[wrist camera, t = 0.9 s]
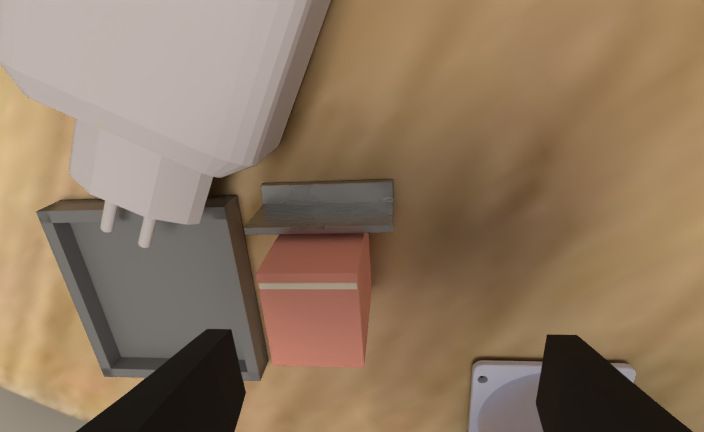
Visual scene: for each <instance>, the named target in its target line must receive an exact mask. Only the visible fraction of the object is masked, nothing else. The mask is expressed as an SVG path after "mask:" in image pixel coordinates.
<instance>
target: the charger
mask: <svg viewBox="0 0 704 432" xmlns="http://www.w3.org/2000/svg"><path fill="white" fill-rule="evenodd" d="M330 2H331V0H0V64H1V66H2V67H3V68H4V69H5V71H6V72H7V73H8V74H9V76H10V77H11V78H12V80H13V81H14V82H15V83H16V85H17V86H18V87H19V88H20V90H21V91H22V92H23V93H24V94H25V95H26V96H27V97H29V98H31V99H33V100H35V101H37V102H39V103H41V104H44V105H46V106H48V107H51V108H53V109H55V110H58V111H60V112H62V113H64V114H67V115H69V116H71V117H74V118H76V121H75V128H74V136H73V144H72V151H71V159H70V167H69V173H70V176H71V177H72V178H73V179H74V180H75V181H76V182H78V183H79V184H80V185H81V186H82V187H83V188H84V189H85V190H86V191H87V192H88V193H89V194H91V195H93V196H96V197H98V198H101V199H103V200H105V204H104V209H103V215H102V220H101V226H100V229H101V230H102V231H103V232H107V233H108V232H112V231H113V230H114V224H115V219H116V214H117V209H118V206H120V207H122V208H124V209H127V210H129V211H131V212H134V213H136V214H139V215H141V216H143V217H144V219H143V223H142V227H141V232H140V236H139V241H138V244H139V246H140V247H142V248H148V247H150V246H151V242H152V238H153V234H154V230H155V225H156V221H157V220H161V221H167V222H173V223H180V224H186V225H190V224H199V223H200V220H201V216H202V213H203V210H204V206H205V203H206V199H207V196H208V193H209V189H210V186H211V183H212V179H213V177H219V178H221V177H225V176H227V175H230V174H233V173H236V172H238V171H241V170H244V169H247V168H249V167H252V166H255V165H257V164H258V163H259V162H260V161H261V160H262V159H264V158H265V157H266V156H267V155H268V154H270V153H271V152H272V151H273V150H274V149H275V148H277V147H278V146H279V143H280V141H281V138H282V135H283V132H284V129H285V127H286V124H287V121H288V118H289V116H290V113H291V110H292V107H293V104H294V102H295V99H296V96H297V93H298V91H299V88H300V85H301V82H302V79H303V77H304V74H305V71H306V68H307V66H308V63H309V60H310V57H311V54H312V52H313V49H314V46H315V43H316V41H317V38H318V35H319V32H320V29H321V27H322V24H323V21H324V18H325V16H326V13H327V10H328V7H329V4H330Z"/></svg>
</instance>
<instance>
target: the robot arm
mask: <svg viewBox="0 0 704 432" xmlns="http://www.w3.org/2000/svg"><path fill="white" fill-rule="evenodd" d="M480 376H485V377H482V378H480ZM635 377H636V372H635V370H634V369H633V368H632V366H631V365H629V364H625V363H609V362H608V361H607V360H606V359H605V358H603V357H602V356H601V355H600V354H599V353H598V352H596V351H595V350H594V349H593V348H592V347H591V346H589V345H588V344H587V343H586V342H585V341H583V340H582V339H581V338H580V337H578V336H577V335H547V338H546V344H545V350H544V356H543V362H539V361H492V360H481V361H477V362H475V363H474V364H473V367H472V379H471V393H470V407H469V420H468V432H692V431H691V430H690V429H689V428H687V427H686V426H685V425H684V424H682V423H681V422H680V421H679V420H677V419H676V418H675V417H674V416H672V415H671V414H670V413H669V412H668V411H666V410H665V409H664V408H663V407H661V406H660V405H659V404H658V403H657V402H655V401H654V400H653V399H652V398H651V397H649V396H648V395H647V394H646V393H645V392H643V391H642V390H641V389H640V388H639V387H637V386H636V385H635V384H634V380H635ZM245 394H246V392H245V387H244V383H243V378H242V374H241V370H240V365H239V361H238V356H237V352H236V347H235V343H234V339H233V334H232V330H231V329H206V330H205V331H204V332H202V333H201V334H200V335H198V336H197V337H196V338H195V339H193V340H192V341H191V342H190V343H188V344H187V345H186V346H185V347H183V348H182V349H181V350H180V351H179V352H177V353H176V354H175V355H174V356H172V357H171V358H170V359H169V360H168V361H166V362H165V363H164V364H163V365H161V366H160V367H159V368H158V369H157V370H155V371H154V372H153V373H152V374H150V375H149V376H148V377H147V378H145V379H144V380H143V381H142V382H140V383H139V384H138V385H137V386H135V387H134V388H133V389H132V390H130V391H129V392H128V393H127V394H125V395H124V396H123V397H121V398H120V399H119V400H117V401H116V402H115V403H113V404H112V405H111V406H109V407H108V408H107V409H105V410H104V411H103V412H101V413H100V414H99V415H97V416H96V417H95V418H93V419H92V420H91V421H89V422H88V423H87V424H85V425H84V426H83V427H82V428H80V429H79V430H77V431H76V432H234V431H235V428H236V425H237V421H238V418H239V415H240V411H241V408H242V404H243V401H244V397H245Z"/></svg>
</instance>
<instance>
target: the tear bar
mask: <svg viewBox="0 0 704 432" xmlns="http://www.w3.org/2000/svg"><path fill="white" fill-rule="evenodd" d="M261 193H262V199H263V205H262V207H261V208H260V209H259V210H258V212H257V213H256V214H255V215H254V216H253V218H252V219H251V220H250V221H249V222H248V224H247V225H246V226H245V227H244V231H245V235H258V234H320V233H382V232H393V179H377V180H345V181H314V182H282V183H263V184H262V185H261Z"/></svg>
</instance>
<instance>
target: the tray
mask: <svg viewBox="0 0 704 432" xmlns="http://www.w3.org/2000/svg"><path fill="white" fill-rule="evenodd" d="M104 204H105V200H103V199H78V200H60V201H58V202H55V203H53V204H51V205H49V206H47V207H45V208H43V209H40V210H38V211H36V213H37V215H38V218H39V220H40V222H41V225H42V227H43V230H44V232H45V234H46V237H47V239H48V242H49V244H50V246H51V249H52V251H53V254H54V256H55V259H56V261H57V263H58V266H59V268H60V271H61V273H62V275H63V278H64V280H65V283H66V285H67V288H68V290H69V292H70V295H71V297H72V300H73V302H74V304H75V307H76V309H77V312H78V314H79V316H80V319H81V321H82V324H83V326H84V329H85V331H86V333H87V336H88V338H89V341H90V343H91V345H92V348H93V350H94V353H95V355H96V358H97V360H98V362H99V365H100V367H101V370H102V372H103V374H104V377H139V378H147V377H148V376H149V375H150V374H152V373H153V372H154V371H155V370H157V369H158V368H159V367H160V366H161V365H163V364H164V363H165V362H166V361H168V360H169V359H170V358H171V357H172V356H174V355H175V354H176V353H177V352H179V351H180V350H181V349H182V348H183V347H185V346H186V345H187V344H188V343H190V342H191V341H192V340H193V339H195V338H196V337H197V336H198V335H200V334H201V333H202V332H204V331H205V330H206V329H231V330H232V334H233V339H234V343H235V347H236V352H237V356H238V361H239V365H240V370H241V374H242V378H243V381H261V378H262V375H263V373H264V370H265V368H266V365H267V363H268V356H267V351H266V346H265V341H264V335H263V330H262V325H261V320H260V315H259V310H258V304H257V299H256V294H255V289H254V284H253V278H252V273H251V268H250V263H249V258H248V253H247V247H246V242H245V237H244V232H243V227H242V221H241V216H240V211H239V206H238V201H237V196H236V195H219V196H207V199H206V203H205V206H204V210H203V213H202V216H201V220H200V223H199V224H190V225H186V224H180V223H173V222H167V221H161V220H157V221H156V225H155V230H154V234H153V238H152V242H151V246H150V247H148V248H142V247H140V246H139V244H138V241H139V236H140V232H141V227H142V223H143V219H144V217H143V216H141V215H139V214H136V213H134V212H131V211H129V210H127V209H124V208H122V207H120V206H118V209H117V214H116V219H115V224H114V230H113V231H112V232H108V233H107V232H103V231H102V230H101V229H100V226H101V220H102V215H103V209H104Z"/></svg>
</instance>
